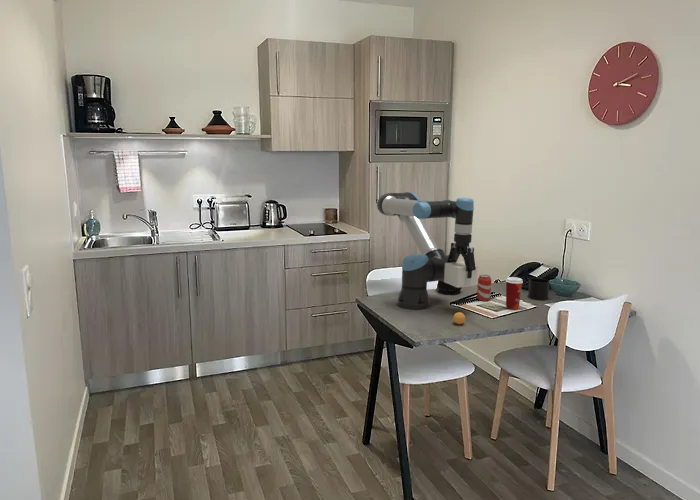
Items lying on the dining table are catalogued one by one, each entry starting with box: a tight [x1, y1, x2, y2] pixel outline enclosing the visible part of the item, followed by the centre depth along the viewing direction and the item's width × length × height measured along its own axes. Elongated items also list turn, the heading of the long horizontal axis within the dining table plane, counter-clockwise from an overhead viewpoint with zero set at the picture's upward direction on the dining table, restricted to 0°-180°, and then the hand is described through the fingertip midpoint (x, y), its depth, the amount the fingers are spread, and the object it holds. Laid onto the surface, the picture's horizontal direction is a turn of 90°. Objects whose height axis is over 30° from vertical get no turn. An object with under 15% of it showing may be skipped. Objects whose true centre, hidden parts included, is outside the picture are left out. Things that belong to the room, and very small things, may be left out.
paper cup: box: [505, 276, 524, 311], centre depth 244 cm, size 8×8×14 cm
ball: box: [452, 311, 466, 325], centre depth 221 cm, size 5×5×5 cm
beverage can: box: [476, 274, 492, 302], centre depth 257 cm, size 6×6×12 cm
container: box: [436, 280, 463, 296], centre depth 271 cm, size 13×13×10 cm
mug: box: [527, 277, 550, 301], centre depth 263 cm, size 9×12×9 cm
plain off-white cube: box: [444, 260, 479, 288], centre depth 236 cm, size 10×10×9 cm
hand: (460, 282), depth 237 cm, fingers closed on plain off-white cube, 10 cm apart
